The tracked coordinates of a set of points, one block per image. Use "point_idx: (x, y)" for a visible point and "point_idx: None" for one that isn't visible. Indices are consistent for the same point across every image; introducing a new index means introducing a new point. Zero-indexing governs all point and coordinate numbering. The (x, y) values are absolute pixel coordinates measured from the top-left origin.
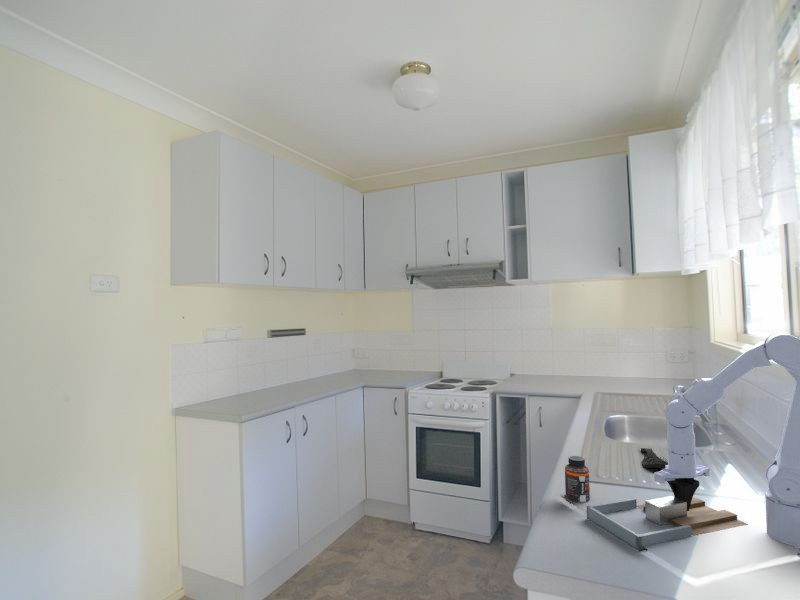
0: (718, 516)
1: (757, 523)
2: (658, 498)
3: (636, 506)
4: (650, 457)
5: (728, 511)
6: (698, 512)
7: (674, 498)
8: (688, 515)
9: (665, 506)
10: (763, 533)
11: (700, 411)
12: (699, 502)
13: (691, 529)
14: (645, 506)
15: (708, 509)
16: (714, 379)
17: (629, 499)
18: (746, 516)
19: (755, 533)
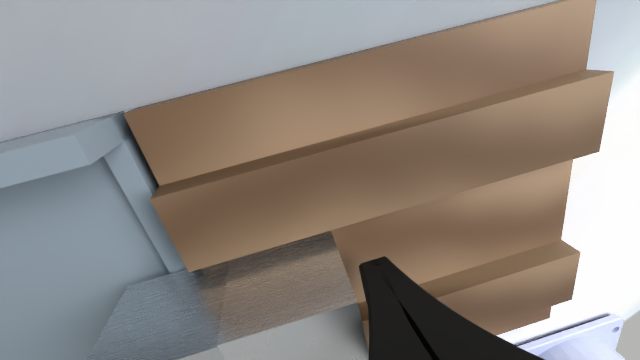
0: (486, 315)
1: (605, 266)
2: (212, 351)
3: (118, 143)
4: None
5: (576, 270)
6: (465, 223)
7: (342, 342)
8: (388, 256)
9: None
10: (544, 328)
11: None
12: (557, 163)
13: None
14: (92, 350)
15: (543, 191)
16: None
17: (12, 165)
18: (637, 212)
19: (521, 330)
